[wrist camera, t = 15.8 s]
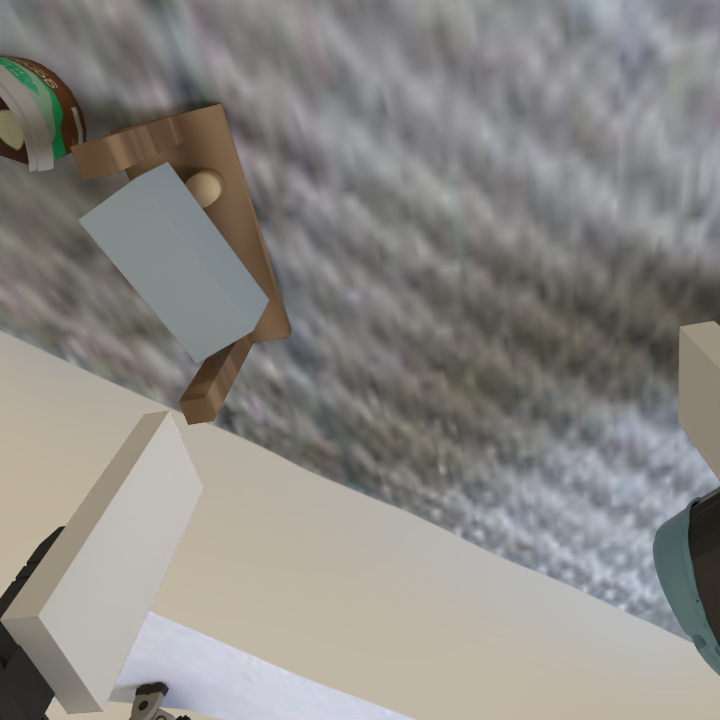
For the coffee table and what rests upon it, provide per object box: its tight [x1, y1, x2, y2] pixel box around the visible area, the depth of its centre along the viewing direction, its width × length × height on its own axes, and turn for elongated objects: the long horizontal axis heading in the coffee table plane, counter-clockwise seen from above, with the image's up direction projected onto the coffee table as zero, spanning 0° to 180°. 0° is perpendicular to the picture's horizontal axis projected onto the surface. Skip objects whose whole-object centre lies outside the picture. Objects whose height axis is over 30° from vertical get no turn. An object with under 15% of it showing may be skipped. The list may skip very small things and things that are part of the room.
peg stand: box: [70, 103, 291, 425], centre depth 46 cm, size 9×20×14 cm, turn 13°
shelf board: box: [78, 162, 269, 363], centre depth 46 cm, size 6×13×6 cm, turn 32°
